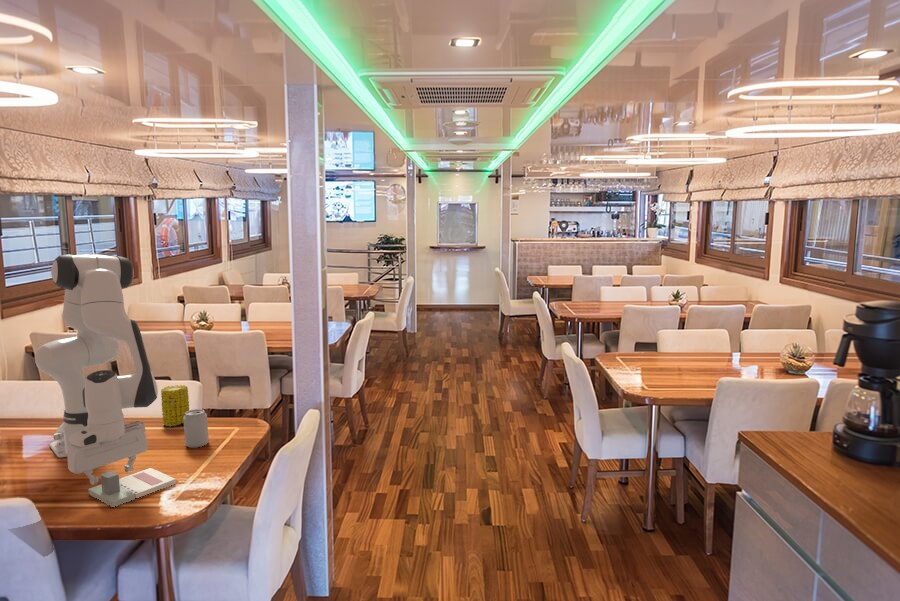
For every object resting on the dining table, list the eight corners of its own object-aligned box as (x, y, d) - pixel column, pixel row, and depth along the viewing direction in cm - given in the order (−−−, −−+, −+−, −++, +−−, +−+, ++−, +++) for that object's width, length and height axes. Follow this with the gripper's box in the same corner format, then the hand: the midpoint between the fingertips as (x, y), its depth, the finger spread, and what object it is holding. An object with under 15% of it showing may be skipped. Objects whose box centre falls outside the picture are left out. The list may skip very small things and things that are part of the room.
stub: (88, 494, 172) (86, 472, 171) (110, 486, 176) (108, 464, 176) (112, 507, 164) (110, 484, 163) (135, 499, 168) (132, 476, 167)
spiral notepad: (111, 486, 177) (111, 481, 176) (151, 472, 186) (150, 467, 186) (136, 499, 169) (135, 493, 168) (175, 484, 178) (175, 478, 178)
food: (162, 432, 225) (168, 424, 235) (195, 423, 227) (199, 415, 237) (149, 394, 223) (156, 388, 232) (182, 384, 225) (187, 379, 235)
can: (212, 441, 211) (210, 408, 210) (202, 449, 204) (199, 415, 202) (192, 440, 212) (190, 407, 210) (181, 448, 205) (178, 414, 203)
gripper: (138, 417, 177) (142, 462, 179) (62, 438, 161) (67, 488, 163) (149, 421, 174) (154, 466, 176) (72, 443, 157) (78, 493, 159)
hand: (112, 477), depth 169 cm, fingers open, 8 cm apart
